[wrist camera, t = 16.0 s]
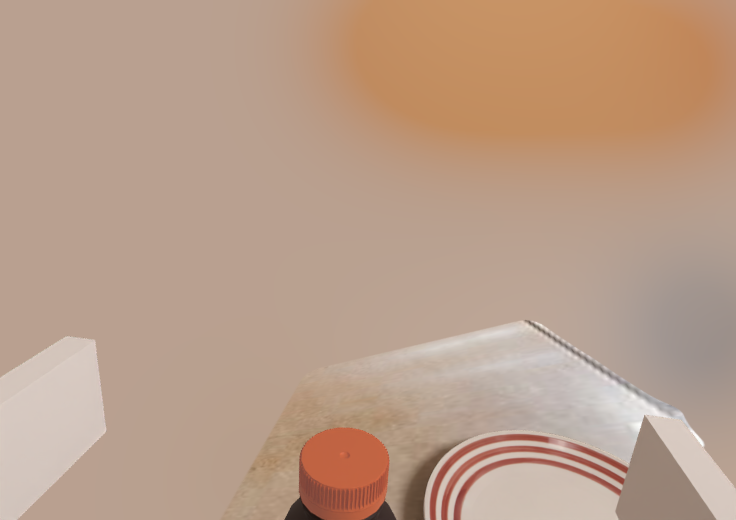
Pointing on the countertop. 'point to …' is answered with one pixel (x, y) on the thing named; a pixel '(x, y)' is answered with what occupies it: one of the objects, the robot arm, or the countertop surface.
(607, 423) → the countertop surface
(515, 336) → the countertop surface
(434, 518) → the dinner plate
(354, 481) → the vinegar
